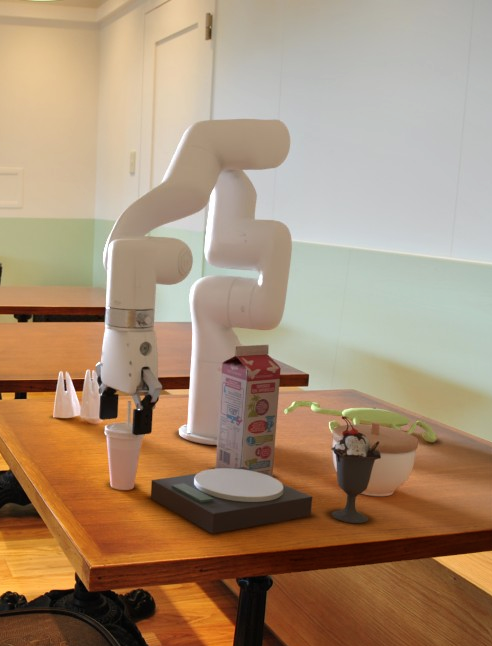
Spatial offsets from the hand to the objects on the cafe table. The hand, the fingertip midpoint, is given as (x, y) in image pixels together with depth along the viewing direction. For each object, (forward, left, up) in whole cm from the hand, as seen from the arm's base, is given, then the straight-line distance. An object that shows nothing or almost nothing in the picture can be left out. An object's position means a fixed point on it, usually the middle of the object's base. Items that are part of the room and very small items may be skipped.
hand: (124, 426), depth 131 cm
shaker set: (-14, -38, -10) cm, 42 cm away
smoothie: (0, 0, -10) cm, 10 cm away
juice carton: (-23, +2, -10) cm, 25 cm away
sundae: (-24, +24, -10) cm, 35 cm away
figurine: (-61, -9, -10) cm, 63 cm away
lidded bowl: (-37, +16, -10) cm, 42 cm away
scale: (-10, +14, -10) cm, 20 cm away
